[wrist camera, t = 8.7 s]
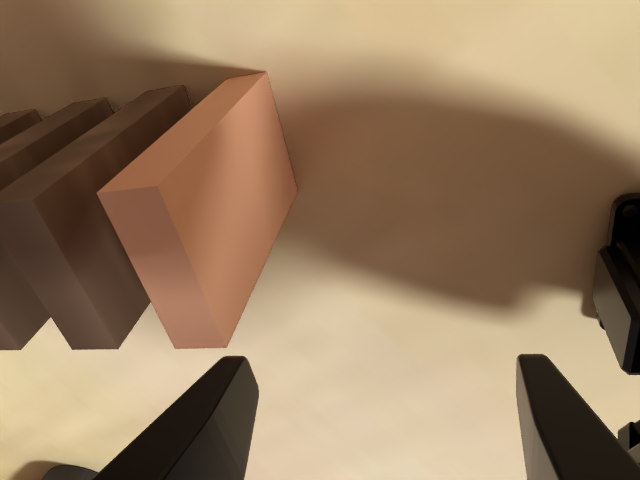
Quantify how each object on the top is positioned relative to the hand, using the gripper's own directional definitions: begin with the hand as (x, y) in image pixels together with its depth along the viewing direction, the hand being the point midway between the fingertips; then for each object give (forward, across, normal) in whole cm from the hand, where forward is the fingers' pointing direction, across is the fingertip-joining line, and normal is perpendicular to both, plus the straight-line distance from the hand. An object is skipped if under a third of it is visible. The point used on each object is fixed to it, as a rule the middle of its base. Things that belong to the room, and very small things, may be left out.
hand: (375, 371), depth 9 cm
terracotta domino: (+12, +6, 0) cm, 13 cm away
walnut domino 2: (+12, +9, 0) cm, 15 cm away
